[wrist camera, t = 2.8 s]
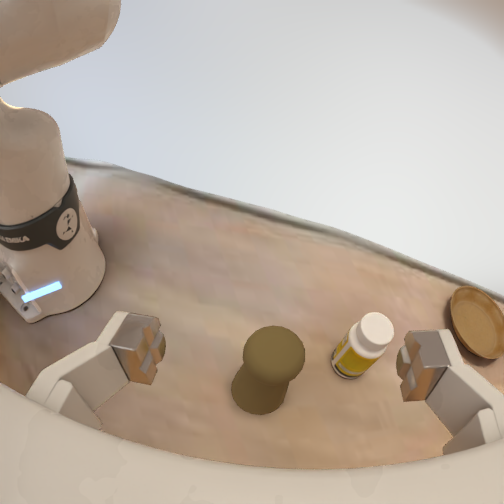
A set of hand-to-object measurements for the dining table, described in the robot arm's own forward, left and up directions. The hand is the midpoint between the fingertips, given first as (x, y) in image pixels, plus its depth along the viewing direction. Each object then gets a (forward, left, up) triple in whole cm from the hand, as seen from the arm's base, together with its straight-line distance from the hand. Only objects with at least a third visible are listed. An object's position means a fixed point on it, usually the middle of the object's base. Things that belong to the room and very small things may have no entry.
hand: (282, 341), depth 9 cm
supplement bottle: (+11, +13, -24) cm, 29 cm away
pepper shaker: (+1, +7, -24) cm, 25 cm away
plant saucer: (+35, +23, -24) cm, 48 cm away
